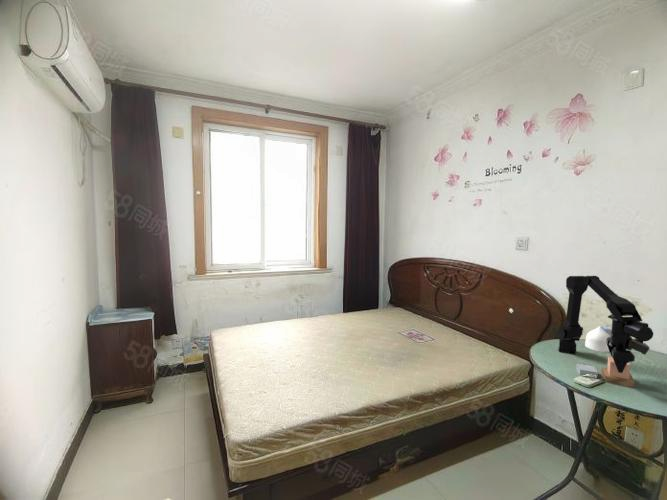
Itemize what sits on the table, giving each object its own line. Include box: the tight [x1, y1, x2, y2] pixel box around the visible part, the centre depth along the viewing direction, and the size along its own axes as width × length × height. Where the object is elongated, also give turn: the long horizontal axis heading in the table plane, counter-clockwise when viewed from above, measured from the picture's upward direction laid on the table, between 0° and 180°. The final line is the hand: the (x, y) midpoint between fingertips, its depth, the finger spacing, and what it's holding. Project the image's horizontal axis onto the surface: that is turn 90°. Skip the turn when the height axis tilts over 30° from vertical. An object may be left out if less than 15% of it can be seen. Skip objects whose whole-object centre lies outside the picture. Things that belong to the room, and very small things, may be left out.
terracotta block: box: [606, 356, 631, 379], centre depth 129 cm, size 6×6×6 cm
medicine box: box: [601, 326, 612, 337], centre depth 166 cm, size 8×4×9 cm, turn 71°
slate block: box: [576, 363, 599, 376], centre depth 135 cm, size 6×6×3 cm
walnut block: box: [601, 367, 636, 389], centre depth 130 cm, size 9×9×3 cm
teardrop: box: [584, 325, 610, 353], centre depth 161 cm, size 11×11×12 cm
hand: (618, 368), depth 129 cm, fingers open, 9 cm apart
